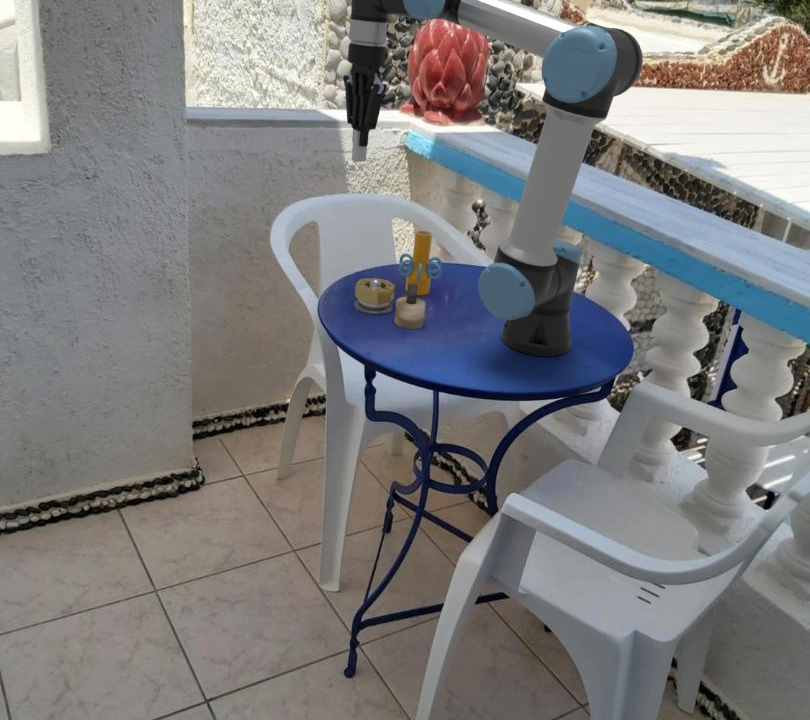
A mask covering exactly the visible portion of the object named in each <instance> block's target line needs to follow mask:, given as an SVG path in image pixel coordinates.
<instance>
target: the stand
mask: <svg viewBox="0 0 810 720" xmlns="http://www.w3.org/2000/svg"><path fill="white" fill-rule="evenodd" d="M417 290H418V285H417V284H408V289H407V292H406V296H403V297H399V298H397V299H396V304H395V313H394V324H395V325H396V326H398V327H399V328H403V329H407V330H417V329H421V328H422V327H423V325H424V319H425V312H426V311H425V310H426V301H424V300H423V299H421V298H418V295H417Z"/></svg>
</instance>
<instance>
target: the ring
mask: <svg viewBox="0 0 810 720" xmlns="http://www.w3.org/2000/svg"><path fill="white" fill-rule="evenodd" d="M373 279H378V280H379V281H380V282H381V288H380V289H375V288H369V287H370V282H371V281H372V280H373ZM395 289H396V284H394V283H392V282H390V281H389V280H387V279H381V278H376V277H371V278H367V277H366V278H360V279H359V280H358V281H357V282H356V283H355V290H354V291H355V292H354V297H355V298H356V299H357V300H358V299H359V300H360V301H362V302H366V303H371V304H385V303H391V302H392V301H393V299H395Z"/></svg>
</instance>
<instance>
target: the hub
mask: <svg viewBox="0 0 810 720" xmlns="http://www.w3.org/2000/svg"><path fill="white" fill-rule="evenodd" d="M378 279H379V278H377V279H373V280H372V281H371V282H370V287H369V288H375V289H380V288H381V282H380V281H379V280H378ZM353 307H354V309H355V310H356V311H358V312H361V313H363V314H368V315H377V316H378V315H380V316H381V315H387V314H389V313H391V312H393V310H394V306H393V304H392V303H391V302H390V303H385V304H371V303H366V302H362V301H360V300H359V299H358V298H357V300H355V301H354V303H353Z"/></svg>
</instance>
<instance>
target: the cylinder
mask: <svg viewBox="0 0 810 720" xmlns="http://www.w3.org/2000/svg"><path fill="white" fill-rule="evenodd" d="M432 239H433V233H432V232H431V231H428V230H423V229H421V230H416V231H415V234H414V243H413V253H412V255H411V254H410V253H402V254H401V255H400V257H399V260H398V261H399V266H398V272H399V273H398V274H399V275H400V276H402V277H406V278H405V280H406V281H405V288H404V290H405V292H406V293H407V289H408V284H417V285H418V290H417V296H426V295H428V294H429V293H430V290H431V289H430V288H431V281H432V280H438V279H440V277H441V275H442V260H441V258H439V256H433V257H431V256H430V255H431V247H432V246H431V245H432ZM405 257H407V258H408V259H404V258H405ZM435 261H437V262H435ZM406 263H408V264H410V266H405V264H406ZM432 266H435V269H431V267H432ZM402 269H403V270H404V271H407V272H406V273H405V272H403V270H402ZM437 272H438V273H437ZM436 273H437V275H432V274H436Z"/></svg>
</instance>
